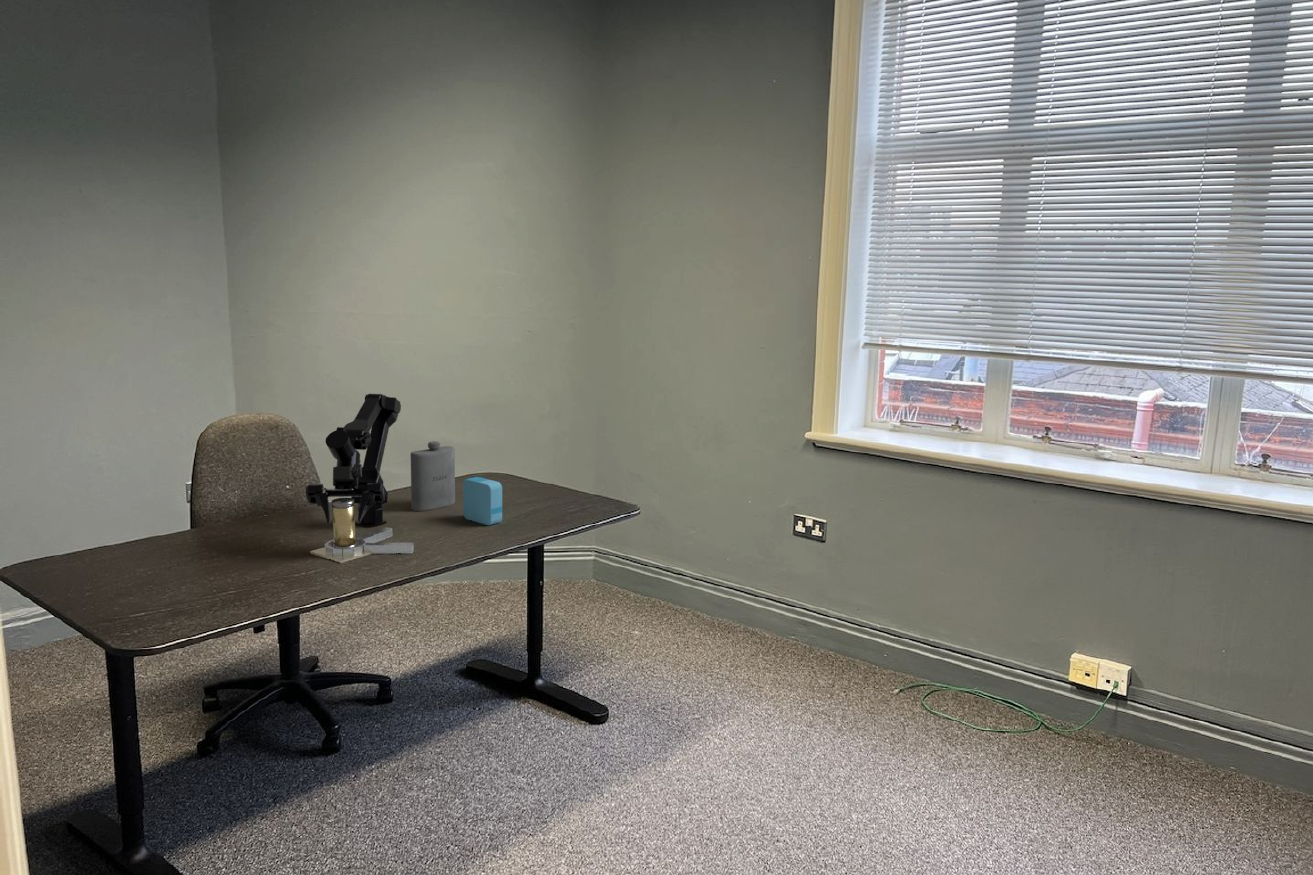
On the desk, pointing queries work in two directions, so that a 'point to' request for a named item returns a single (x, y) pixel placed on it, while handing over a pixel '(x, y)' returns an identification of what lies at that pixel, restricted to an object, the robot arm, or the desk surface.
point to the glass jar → (344, 523)
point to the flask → (433, 477)
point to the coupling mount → (364, 547)
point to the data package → (482, 500)
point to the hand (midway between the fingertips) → (343, 522)
